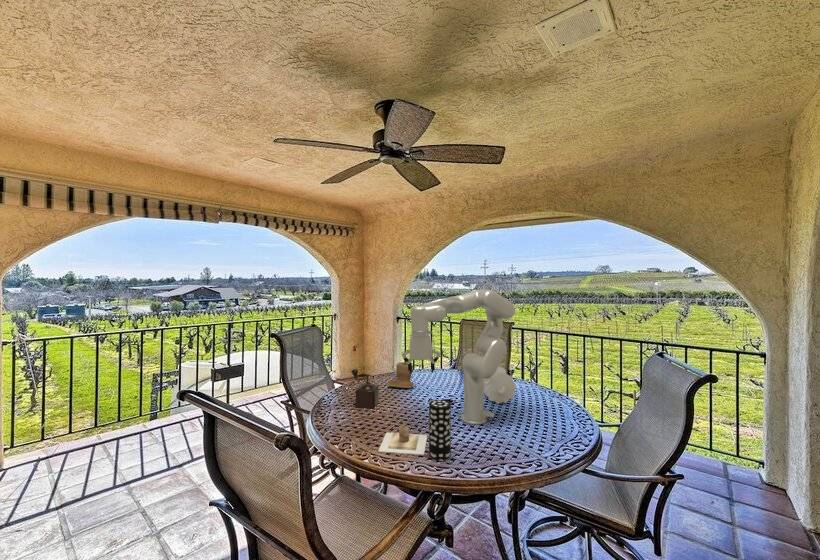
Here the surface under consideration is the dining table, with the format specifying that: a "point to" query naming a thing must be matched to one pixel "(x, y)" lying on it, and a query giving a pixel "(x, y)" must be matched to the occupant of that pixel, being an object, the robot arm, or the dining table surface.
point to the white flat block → (384, 448)
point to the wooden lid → (403, 440)
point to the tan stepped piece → (402, 376)
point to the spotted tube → (439, 430)
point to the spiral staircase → (499, 386)
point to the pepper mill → (366, 393)
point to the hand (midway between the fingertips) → (421, 372)
